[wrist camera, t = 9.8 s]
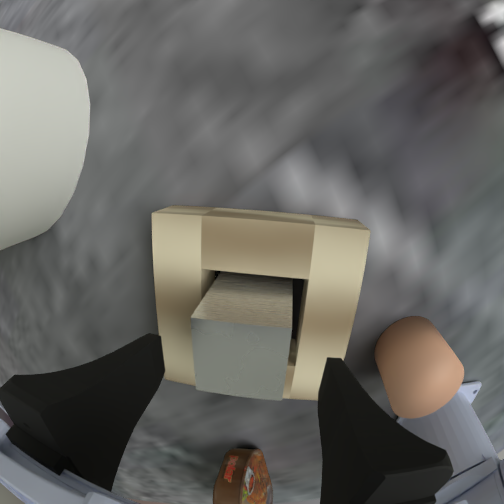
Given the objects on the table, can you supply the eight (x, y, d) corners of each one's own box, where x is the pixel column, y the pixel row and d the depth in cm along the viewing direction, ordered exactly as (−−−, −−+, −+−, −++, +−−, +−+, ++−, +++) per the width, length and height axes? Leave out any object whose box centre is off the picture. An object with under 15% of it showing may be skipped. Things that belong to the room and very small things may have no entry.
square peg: (286, 325, 19) (281, 400, 12) (226, 319, 19) (196, 389, 12) (292, 268, 17) (292, 328, 11) (226, 262, 18) (190, 317, 11)
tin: (275, 496, 26) (268, 550, 18) (250, 496, 26) (240, 549, 18) (257, 431, 22) (243, 510, 14) (223, 430, 23) (201, 505, 15)
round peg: (423, 371, 18) (444, 414, 14) (366, 373, 19) (380, 421, 14) (444, 316, 17) (475, 354, 12) (384, 314, 18) (407, 358, 13)
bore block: (328, 372, 19) (331, 400, 16) (179, 354, 20) (165, 379, 18) (357, 220, 16) (370, 230, 13) (173, 205, 17) (151, 212, 14)
